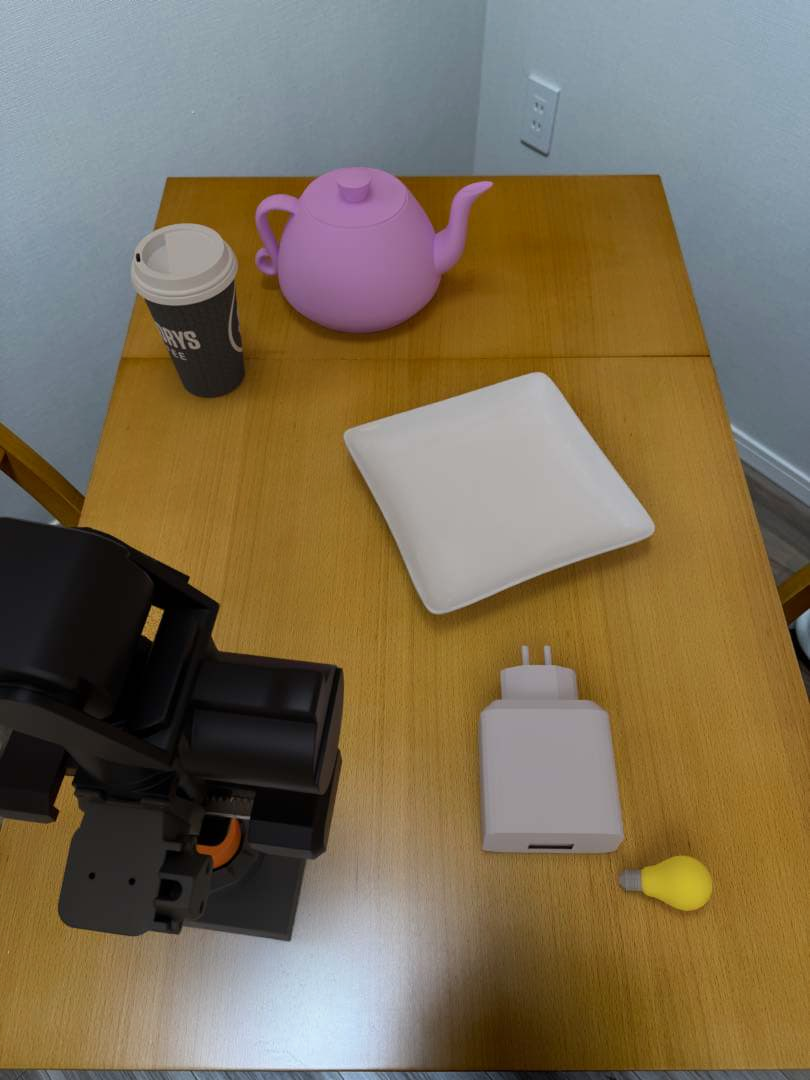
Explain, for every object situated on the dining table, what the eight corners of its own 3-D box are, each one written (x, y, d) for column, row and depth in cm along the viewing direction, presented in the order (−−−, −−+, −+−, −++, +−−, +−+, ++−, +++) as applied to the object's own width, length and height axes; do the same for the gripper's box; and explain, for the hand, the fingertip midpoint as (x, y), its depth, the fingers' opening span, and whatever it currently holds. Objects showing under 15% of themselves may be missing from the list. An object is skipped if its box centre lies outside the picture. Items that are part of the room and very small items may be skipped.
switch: (174, 864, 56) (166, 856, 55) (190, 804, 59) (183, 794, 57) (233, 873, 56) (227, 864, 54) (247, 812, 58) (242, 802, 56)
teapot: (246, 340, 90) (222, 227, 79) (271, 237, 100) (253, 124, 89) (484, 347, 89) (493, 234, 78) (485, 242, 99) (493, 128, 88)
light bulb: (714, 908, 58) (715, 914, 54) (623, 904, 59) (618, 909, 56) (710, 855, 59) (710, 857, 55) (620, 852, 60) (615, 854, 57)
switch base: (117, 916, 58) (98, 903, 55) (160, 773, 64) (146, 753, 60) (290, 941, 57) (282, 929, 54) (319, 794, 63) (313, 775, 59)
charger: (590, 660, 68) (613, 854, 60) (474, 660, 68) (481, 852, 60) (600, 632, 64) (627, 834, 56) (478, 631, 65) (485, 833, 56)
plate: (655, 551, 74) (664, 528, 71) (430, 636, 70) (431, 616, 67) (540, 390, 86) (544, 365, 83) (340, 455, 81) (338, 430, 78)
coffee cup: (181, 339, 91) (143, 214, 78) (269, 346, 90) (245, 221, 77) (154, 404, 85) (108, 281, 73) (247, 413, 84) (217, 290, 72)
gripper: (-128, 871, 38) (10, 938, 51) (284, 930, 36) (320, 984, 49) (-24, 648, 44) (76, 758, 57) (332, 690, 43) (352, 793, 55)
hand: (199, 822), depth 54 cm, fingers closed
